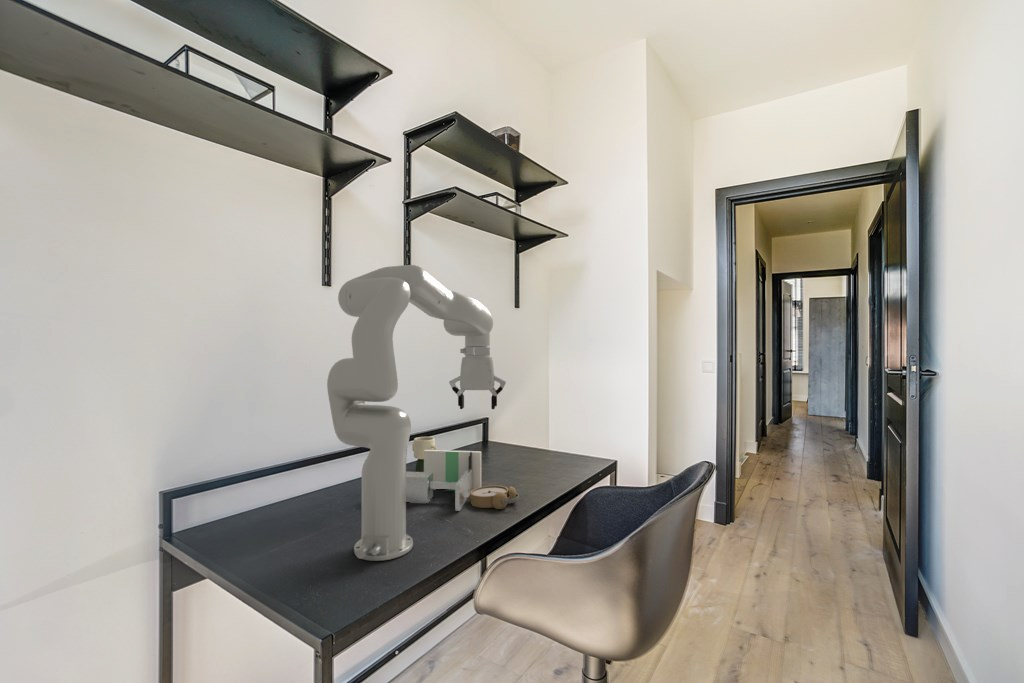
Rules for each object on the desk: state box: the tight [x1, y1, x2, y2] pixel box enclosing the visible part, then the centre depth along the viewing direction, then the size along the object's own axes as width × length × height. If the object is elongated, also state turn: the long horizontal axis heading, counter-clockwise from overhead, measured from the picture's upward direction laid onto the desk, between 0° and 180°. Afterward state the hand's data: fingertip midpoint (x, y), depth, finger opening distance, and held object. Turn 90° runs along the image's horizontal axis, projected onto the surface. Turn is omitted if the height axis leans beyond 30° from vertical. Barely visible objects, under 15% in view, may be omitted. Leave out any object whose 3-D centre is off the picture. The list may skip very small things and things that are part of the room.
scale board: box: [424, 449, 482, 491], centre depth 144 cm, size 1×18×12 cm, turn 83°
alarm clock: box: [466, 484, 520, 510], centre depth 132 cm, size 11×5×15 cm
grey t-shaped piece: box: [429, 456, 472, 512], centre depth 134 cm, size 17×11×11 cm, turn 173°
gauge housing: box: [406, 471, 434, 504], centre depth 135 cm, size 6×13×7 cm, turn 83°
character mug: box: [411, 436, 438, 472], centre depth 158 cm, size 11×7×13 cm, turn 57°
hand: (477, 408), depth 141 cm, fingers open, 9 cm apart
